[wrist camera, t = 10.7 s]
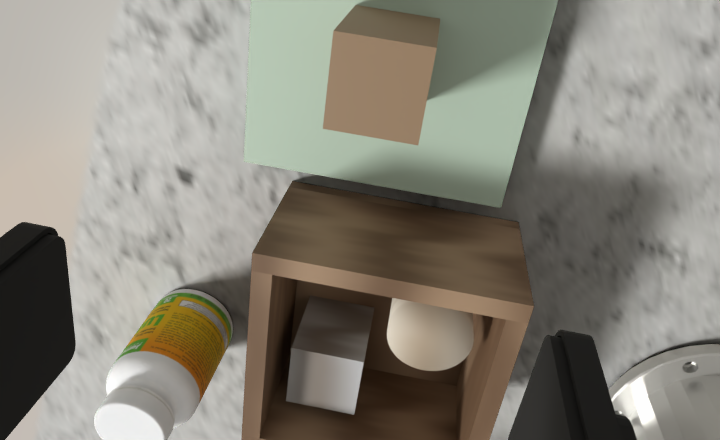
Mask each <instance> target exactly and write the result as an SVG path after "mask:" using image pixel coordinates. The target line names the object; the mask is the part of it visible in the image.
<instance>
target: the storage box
mask: <svg viewBox="0 0 720 440" xmlns="http://www.w3.org/2000/svg"><path fill="white" fill-rule="evenodd" d="M533 308H534V303H533V298H532V292H531V287H530V281H529V276H528V271H527V265H526V260H525V255H524V249H523V244H522V238H521V233H520V228H519V222H514V221H509V220H503V219H498V218H492V217H487V216H481V215H476V214H470V213H465V212H459V211H454V210H448V209H443V208H437V207H432V206H426V205H421V204H415V203H410V202H404V201H399V200H393V199H388V198H382V197H377V196H371V195H366V194H360V193H355V192H350V191H344V190H339V189H333V188H328V187H322V186H317V185H311V184H306V183H300V182H295V181H292V183H291V185H290V186H289V188H288V190H287V192H286V194H285V195H284V197H283V199H282V201H281V203H280V204H279V206H278V208H277V210H276V211H275V213H274V215H273V217H272V219H271V220H270V222H269V224H268V226H267V228H266V229H265V231H264V233H263V235H262V237H261V238H260V240H259V242H258V244H257V245H256V247H255V249H254V251H253V253H252V267H251V285H250V302H249V319H248V337H247V354H246V371H245V389H244V406H243V424H242V440H489V439H490V436H491V433H492V430H493V427H494V424H495V421H496V418H497V415H498V412H499V409H500V406H501V403H502V400H503V397H504V394H505V391H506V388H507V385H508V383H509V380H510V377H511V374H512V371H513V368H514V365H515V362H516V359H517V356H518V353H519V350H520V347H521V344H522V341H523V338H524V335H525V332H526V329H527V326H528V323H529V320H530V317H531V314H532V311H533Z"/></svg>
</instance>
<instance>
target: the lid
mask: <svg viewBox="0 0 720 440" xmlns="http://www.w3.org/2000/svg"><path fill="white" fill-rule="evenodd" d="M557 3H558V0H251V9H250V32H249V54H248V77H247V99H246V122H245V145H244V162H248V163H254V164H259V165H265V166H270V167H276V168H281V169H287V170H292V171H298V172H304V173H309V174H315V175H320V176H326V177H331V178H337V179H342V180H348V181H354V182H359V183H365V184H370V185H376V186H381V187H387V188H392V189H398V190H404V191H409V192H415V193H420V194H426V195H431V196H437V197H442V198H448V199H453V200H459V201H465V202H470V203H476V204H481V205H487V206H492V207H498V208H501V206H502V203H503V199H504V195H505V192H506V188H507V185H508V181H509V177H510V174H511V170H512V166H513V163H514V159H515V156H516V152H517V148H518V145H519V141H520V137H521V134H522V130H523V127H524V123H525V119H526V116H527V112H528V108H529V105H530V101H531V98H532V94H533V90H534V87H535V83H536V79H537V76H538V72H539V69H540V65H541V61H542V58H543V54H544V50H545V47H546V43H547V39H548V36H549V32H550V29H551V25H552V21H553V18H554V14H555V10H556V7H557Z"/></svg>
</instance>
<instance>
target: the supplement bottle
mask: <svg viewBox="0 0 720 440" xmlns="http://www.w3.org/2000/svg"><path fill="white" fill-rule="evenodd" d="M232 334H233V324H232V320H231V317H230V315H229V313H228V311H227V310H226V308H225V307H224V306H223V305H222V304H221V303H220V302H219V301H218V300H216V299H215V298H213V297H212V296H210V295H208V294H206V293H204V292H201V291H197V290H192V289H180V290H175V291H172V292H170V293H168V294H167V295H165V296H164V297H163V298H162V299H161V300H160V301H159V302H158V304H157V305H156V306H155V307H154V309H153V310H152V312H151V313H150V314H149V316H148V317H147V319H146V320H145V321H144V323H143V324H142V326H141V327H140V328H139V330H138V331H137V333H136V334H135V335H134V337H133V338H132V339H131V341H130V342H129V344H128V345H127V346H126V348H125V349H124V351H123V352H122V353H121V355H120V356H119V358H118V359H117V360H116V362H115V363H114V365H113V366H112V368H111V369H110V371H109V373H108V376H107V380H106V391H107V397H106V398H105V400H104V401H103V403H102V404H101V406H100V407H99V409H98V410H97V412H96V414H95V418H94V425H95V428H96V431H97V433H98V434H99V436H100V437H101V439H102V440H167V439H168V437H169V436H170V434H171V432H172V430H173V428H176V427H179V426H181V425H182V424H184V423H185V422H186V421H188V420H189V419H190V418H191V417H192V415H193V414H194V412H195V410H196V408H197V407H198V405H199V403H200V401H201V399H202V397H203V395H204V393H205V391H206V389H207V387H208V385H209V383H210V381H211V379H212V377H213V375H214V373H215V371H216V369H217V367H218V365H219V363H220V361H221V359H222V357H223V355H224V353H225V351H226V349H227V347H228V345H229V343H230V341H231V338H232Z"/></svg>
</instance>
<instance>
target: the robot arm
mask: <svg viewBox="0 0 720 440" xmlns="http://www.w3.org/2000/svg"><path fill="white" fill-rule="evenodd" d="M74 351H75V333H74V324H73V314H72V305H71V295H70V285H69V276H68V266H67V257H66V247H65V242H64V240H63V238H61V237H59V236H58V233H57V232H56V230H55V229H54V228H51V227H47V226H41V225H36V224H32V223H27V222H22V223H20V224H18V225H17V226H15V227H14V228H13V229H11V230H10V231H8V232H7V233H6V234H4V235H3V236H2V237H0V440H5V439H6V438H7V437H8V436H9V434H10V433H11V432H12V431H13V429H14V428H15V427H16V426H17V425H18V423H19V422H20V421H21V420H22V419H23V417H24V416H25V415H26V414H27V413H28V412H29V410H30V409H31V408H32V407H33V405H34V404H35V403H36V402H37V401H38V400H39V398H40V397H41V396H42V395H43V394H44V392H45V391H46V390H47V389H48V388H49V386H50V385H51V384H52V383H53V381H54V380H55V379H56V378H57V377H58V375H59V374H60V373H61V372H62V371H63V369H64V368H65V367H66V366H67V365H68V363H69V362H70V361H71V359H72V357H73V354H74ZM508 440H720V344H706V345H696V346H687V347H683V348H679V349H675V350H671V351H667V352H664V353H662V354H659V355H657V356H654V357H651V358H649V359H647V360H645V361H643V362H642V363H640V364H638V365H636V366H635V367H633V368H631V369H630V370H629V371H627V372H626V373H625V374H624V375H623V376H621V377H620V378H619V379H618V380H617V381H616V382H615V383H614V384H613V385H612V387H611V388H610V389H609V390H608V387H607V384H606V380H605V377H604V374H603V370H602V367H601V364H600V360H599V357H598V354H597V350H596V347H595V344H594V340H593V338H592V337H591V336H590V335H585V334H580V333H575V332H570V331H565V330H559V331H558V332H557V333H556V335H555V336H550V335H547V336H546V337H545V339H544V341H543V344H542V347H541V350H540V352H539V355H538V358H537V360H536V363H535V366H534V369H533V371H532V374H531V377H530V380H529V382H528V385H527V388H526V391H525V393H524V396H523V399H522V402H521V404H520V407H519V410H518V413H517V415H516V418H515V421H514V424H513V426H512V429H511V432H510V435H509V438H508Z"/></svg>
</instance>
